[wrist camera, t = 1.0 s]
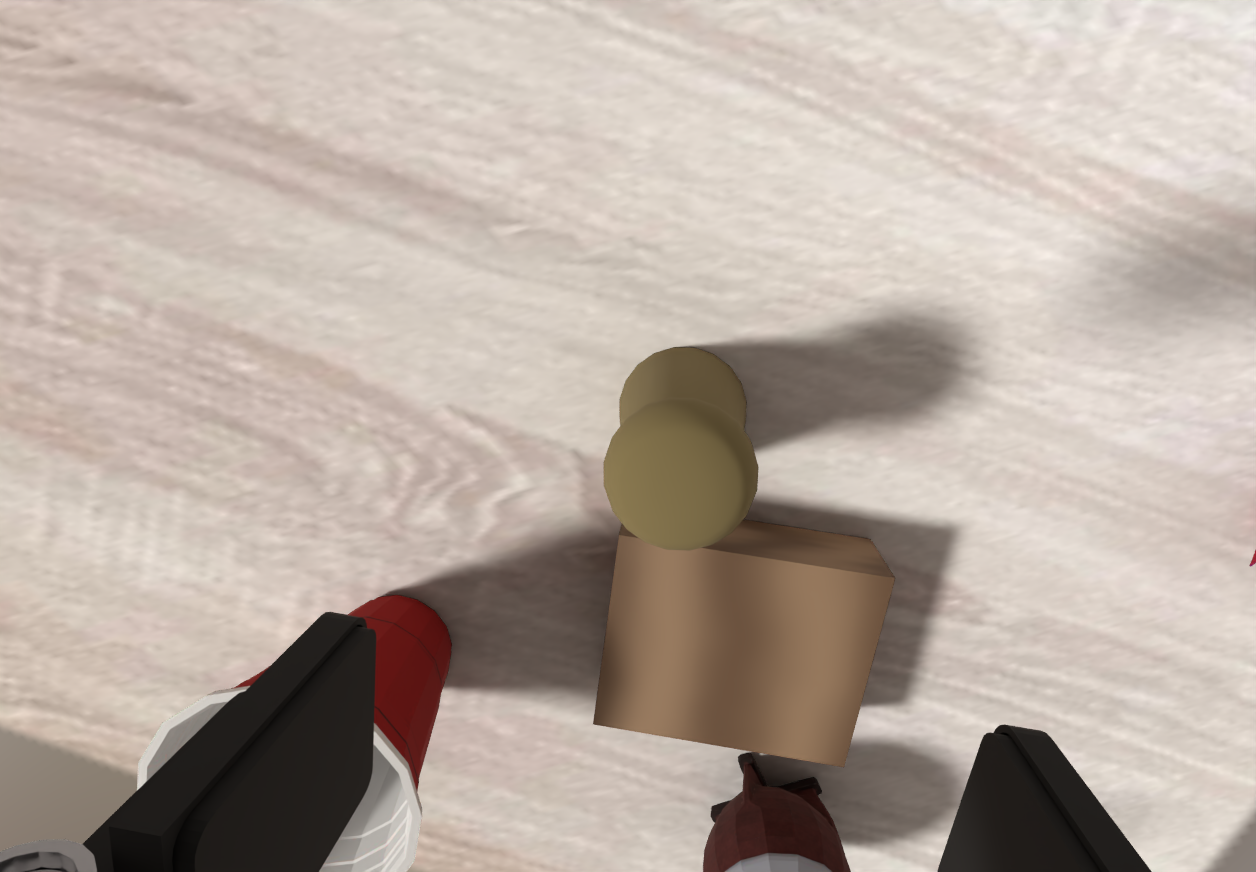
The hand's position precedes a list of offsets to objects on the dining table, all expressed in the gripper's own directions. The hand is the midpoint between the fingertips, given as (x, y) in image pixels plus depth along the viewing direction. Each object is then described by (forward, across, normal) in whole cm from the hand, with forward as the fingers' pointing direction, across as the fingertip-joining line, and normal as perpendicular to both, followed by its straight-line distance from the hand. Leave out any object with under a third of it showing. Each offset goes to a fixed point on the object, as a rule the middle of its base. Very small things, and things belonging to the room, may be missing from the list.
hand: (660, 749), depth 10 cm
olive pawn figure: (+22, 0, 0) cm, 22 cm away
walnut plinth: (+22, -4, +10) cm, 24 cm away
